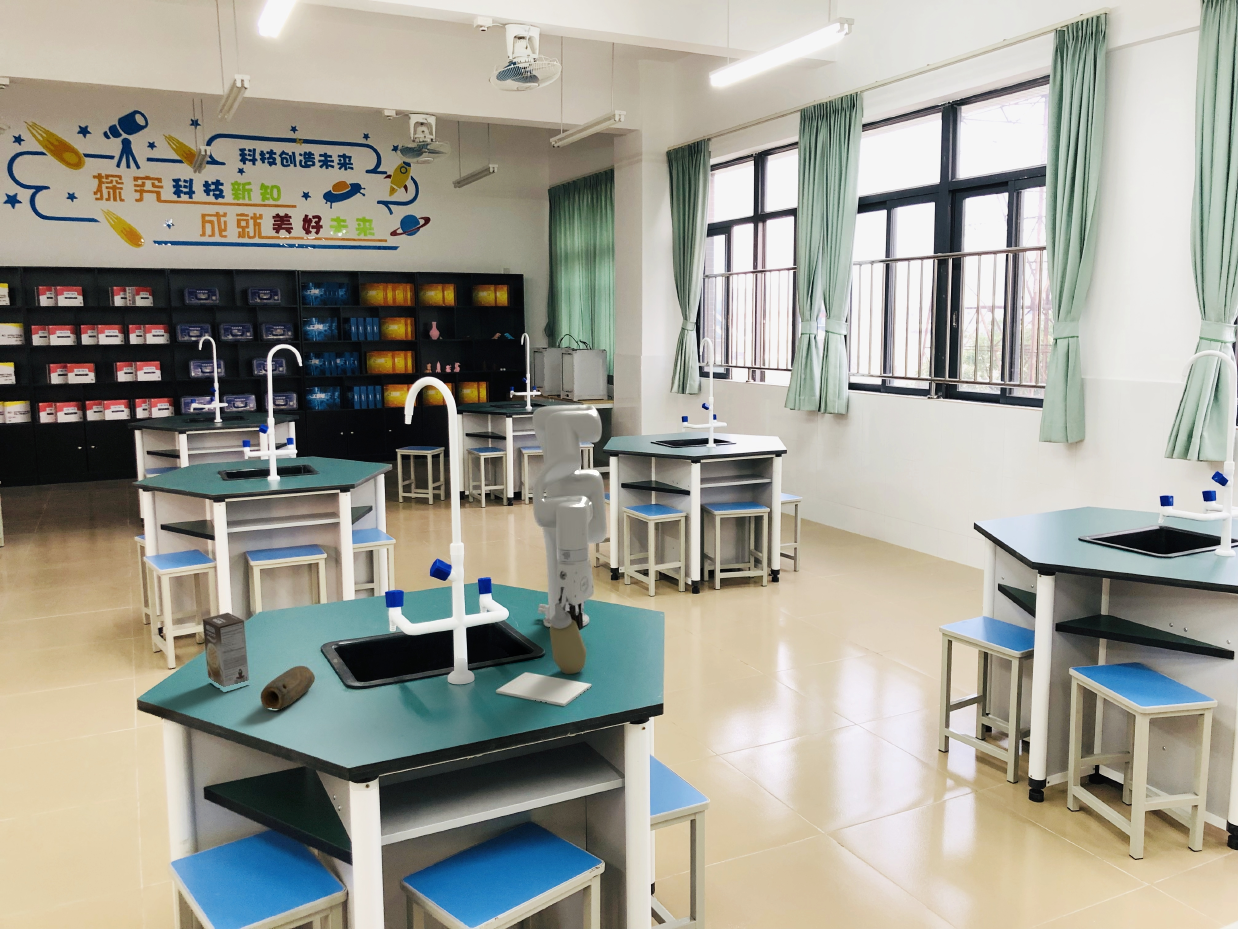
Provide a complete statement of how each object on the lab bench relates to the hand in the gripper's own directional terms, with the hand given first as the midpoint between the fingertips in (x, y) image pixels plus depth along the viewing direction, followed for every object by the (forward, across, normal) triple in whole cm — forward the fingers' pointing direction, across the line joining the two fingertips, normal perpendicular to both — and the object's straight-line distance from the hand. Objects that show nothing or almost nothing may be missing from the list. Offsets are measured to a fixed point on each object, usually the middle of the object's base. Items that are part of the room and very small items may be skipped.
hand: (575, 629), depth 226 cm
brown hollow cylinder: (+10, -43, +50) cm, 67 cm away
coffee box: (+10, -42, +70) cm, 83 cm away
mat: (+10, -14, 0) cm, 18 cm away
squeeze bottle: (+9, -2, 0) cm, 9 cm away
